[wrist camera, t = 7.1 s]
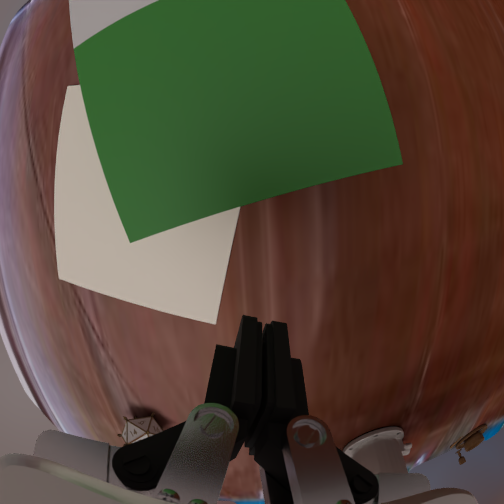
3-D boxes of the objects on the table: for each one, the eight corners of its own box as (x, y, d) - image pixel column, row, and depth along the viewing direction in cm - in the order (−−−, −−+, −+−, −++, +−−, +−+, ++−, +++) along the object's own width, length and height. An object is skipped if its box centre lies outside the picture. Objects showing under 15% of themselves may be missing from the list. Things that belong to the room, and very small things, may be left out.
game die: (145, 398, 40) (104, 411, 31) (184, 417, 37) (144, 437, 28) (144, 436, 39) (106, 452, 30) (180, 456, 36) (144, 479, 27)
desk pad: (265, 100, 20) (265, 99, 20) (216, 322, 28) (215, 324, 28) (70, 86, 19) (67, 86, 18) (60, 277, 27) (58, 278, 27)
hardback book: (361, 158, 21) (274, -50, 13) (402, 164, 14) (276, -93, 6) (166, 215, 23) (106, 7, 15) (130, 243, 16) (68, -19, 8)
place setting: (495, 417, 44) (502, 430, 39) (458, 452, 52) (463, 463, 47) (467, 428, 44) (474, 442, 38) (427, 462, 51) (431, 476, 46)
